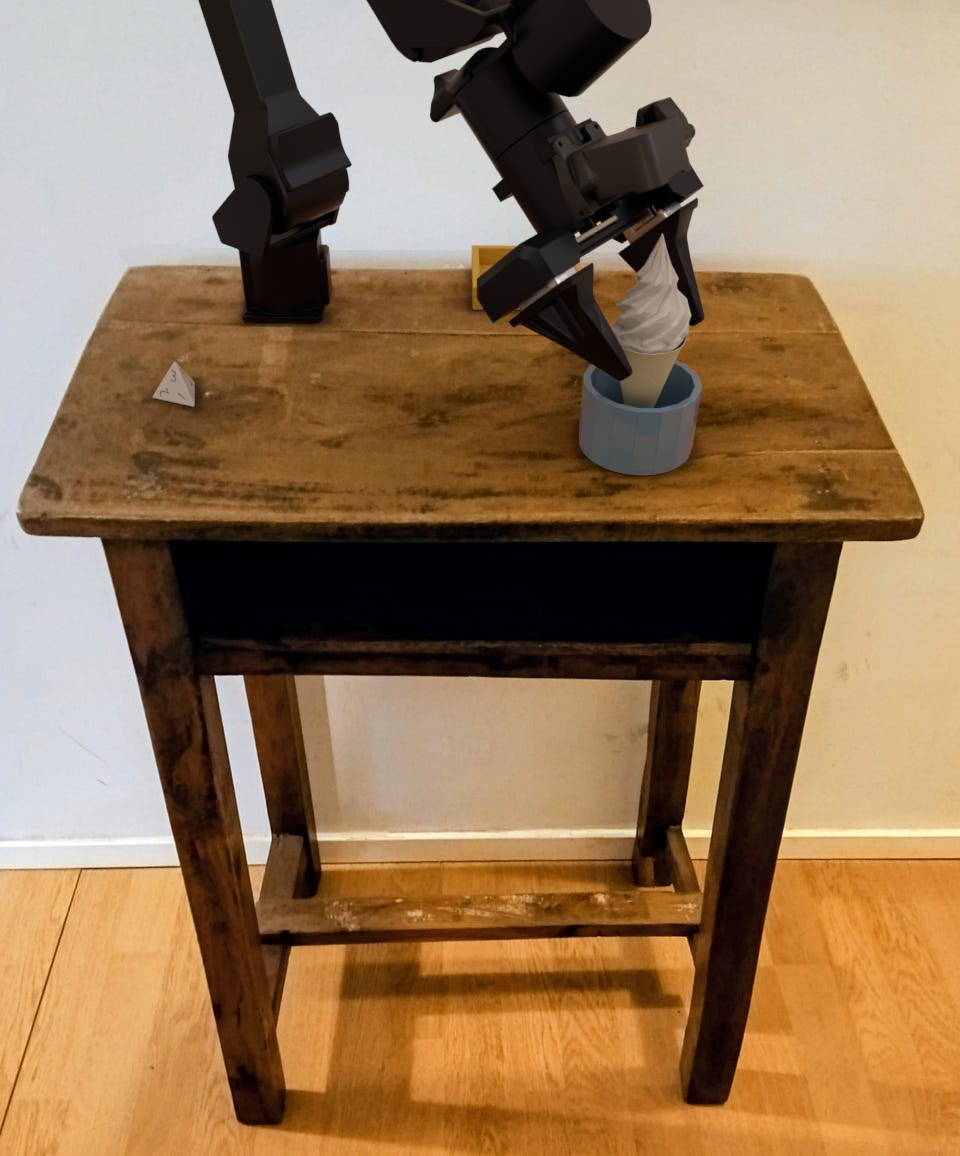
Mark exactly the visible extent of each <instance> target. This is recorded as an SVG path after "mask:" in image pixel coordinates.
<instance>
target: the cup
mask: <svg viewBox="0 0 960 1156" xmlns="http://www.w3.org/2000/svg"><path fill="white" fill-rule="evenodd" d="M581 387H582V388H581V397H580V398H581V399H580V411H579V423H578V444H579V447H580V450H581V451H582V453H583V454H584V456H586V457H587V458H588V460H590V461H591V462H593V464H596V465H598V466H599V467H601V468H603V469H606V470H608V471H610V472H614V473H617V474H618V473H619V474H621V475H622V474H623V475H629V476H653V475H654V476H655V475H660V474H664V473H668V472H671V471H674V470H676V469H678V468H679V467H681V466H682V465H683V464H685V463H686V461H688V459H689V457H690V456H691V453H692V448H693V447H694V440H695V436H696V435H695V434H696V429H697V424H698V423H697V422H698V416H699V410H700V403H701V398H702V397H701V396H702V390H703V386H702V382H701V380H700V377H699V375H698V373H696V372H695V371H694V369H692V368H691V367H690V366H688V365H687V364H686V363H684V362H681V361H679V360H677V359H676V360H675V362H674V365H673V367H672V369H671V371H670V373H669V375H668V378H667V380H666V382H665V384H664V386H663V388H662V391H661V393H660V395H659V397H658V400H657V402H656V404H655V406H654V408H636V407H632V406H627V405H625V404H624V399H623V394H622V389H621V384H620V381H618V380H617V379H615V378H613V377H612V376H610V375H608V374H607V373H605V372H604V371H602V370H600V369H599V368H597V367H596V366H594V365H592V364H591V363H590V364H589V365H588V367H587V369H586V370H585V372H584V374H583V375H582V385H581Z"/></svg>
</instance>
